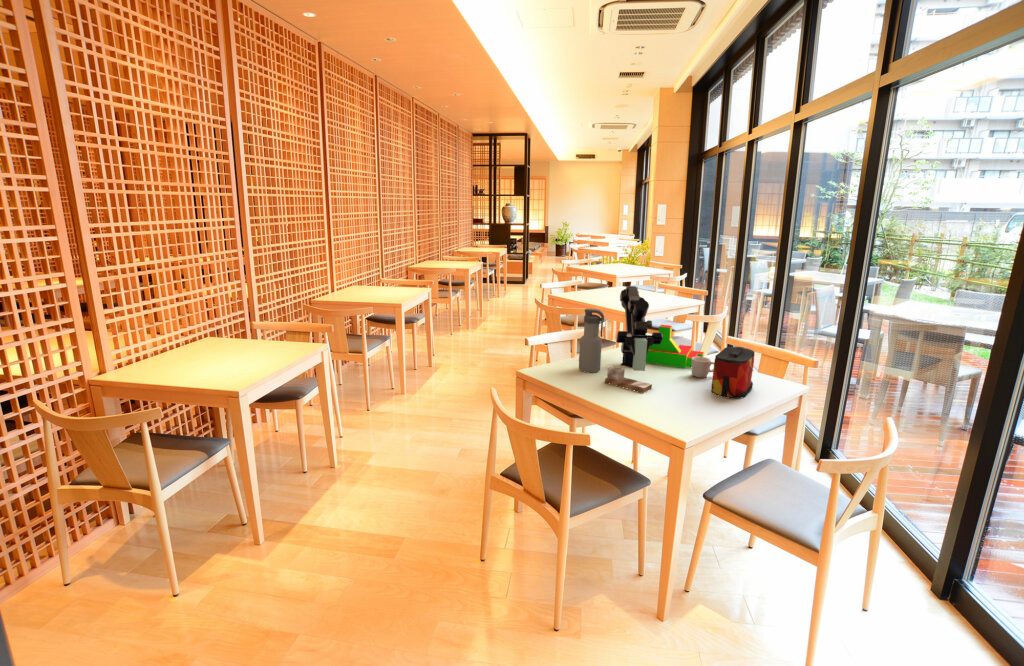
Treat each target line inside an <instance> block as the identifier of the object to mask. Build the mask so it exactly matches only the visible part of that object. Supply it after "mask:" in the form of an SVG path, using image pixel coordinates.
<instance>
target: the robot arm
mask: <svg viewBox="0 0 1024 666" xmlns="http://www.w3.org/2000/svg"><path fill="white" fill-rule="evenodd" d="M639 293H640V292H639V290H638V286H635V285H633V286H630V285H628V286H626V288H624V289H623V290H621V291H620V293H619V294H620V295H619V301H620V303H621V304H620V305H621V307H622V308H623V309H624V313H625V315H624V316H625V331H624V330H619V331H617V333H616V337H615V338H616V340H615V341H616V343H618V344H621V345H620V352H621V354H622V360H621V361H622V362H621V363H620V365H621V366H624V367H628V368H633V355H635V348H634V341H635V338H646V340H647V350H646V356H647V352H648V349H649V347H650V346H652V345H653V344H661V341H662V339H663V334H662V333H660V332H659V331H658V332H656V331H654V332H652V333H651V335H648V334H647V333H648V329H652V328H653V321H652V320H649V319H648V320H647V321H646V318H645V317H646V316H647V313H648V310H649V307H650V304H649V302H648V301H646V299H645V298H644V297H643V296H642V297H641V296H640V294H639Z"/></svg>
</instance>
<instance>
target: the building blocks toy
mask: <svg viewBox="0 0 1024 666" xmlns="http://www.w3.org/2000/svg"><path fill="white" fill-rule="evenodd" d="M672 330H673V325H669V324H660V325H659V327H658V332H660V333H662V334H663V339H662V341H661V344H653V345H652V346H650V347H649V349H648V352H647V356H646V362H647V363H646V364H652V363H654V364H653V365H659V364H660V365H659V366H667V367H673V366H674V367H673V368H681V367H682V368H681V369H687V368H691V367H692V357H705V352H704V351H697V350H693V346H692V345H686V344H685V345H684V344H679V345H677V343H676V342H675V340H674V339H673V338H672V335H673V334H672V332H673V331H672Z"/></svg>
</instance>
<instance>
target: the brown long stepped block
mask: <svg viewBox="0 0 1024 666" xmlns="http://www.w3.org/2000/svg"><path fill="white" fill-rule="evenodd" d="M606 375H607V377H606V378H604V383H605V382H606V383H605V384H607V383H610V384H609V385H611V384H613V385H612V386H614V385H617V386H616V387H618V386H621V387H620V388H622V387H624V388H623V389H626V388H628V389H627V390H629V389H631V391H633V390H635V391H634V392H637V391H638V393H641V392H642V394H644V392H645V393H647V392H648V390H649V391H650V390H652V389H653V384H652V383H647V382H643V381H639V380H635V379H632V378H628V377H625V369H624V368H620V367H617V366H612V367H609V368H607V374H606ZM646 391H647V392H646Z"/></svg>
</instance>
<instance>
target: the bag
mask: <svg viewBox="0 0 1024 666" xmlns="http://www.w3.org/2000/svg"><path fill="white" fill-rule="evenodd" d="M713 362H714V364H713V369H712V370H713V372H712V380H711V393H712V394H713V393H714V395H715V394H716V396H718V395H719V396H718V397H721V396H722V397H721V398H725V397H729V398H728V399H742V398H741V397H743V398H745V397H747V396H748V395H749V393H750V392H751V391H752V389H753V385H754V384H753V383H754V382H753V381H752V377H753V373H754V372H753V371H754V365H755V351H754V350H753V349H749V348H746V347H743V346H727V347H725V348H723V349H722V350H721V351H720V352H718V353H717V354H716V355H715V358H714V361H713ZM747 394H748V395H747ZM746 395H747V396H746Z"/></svg>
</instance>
